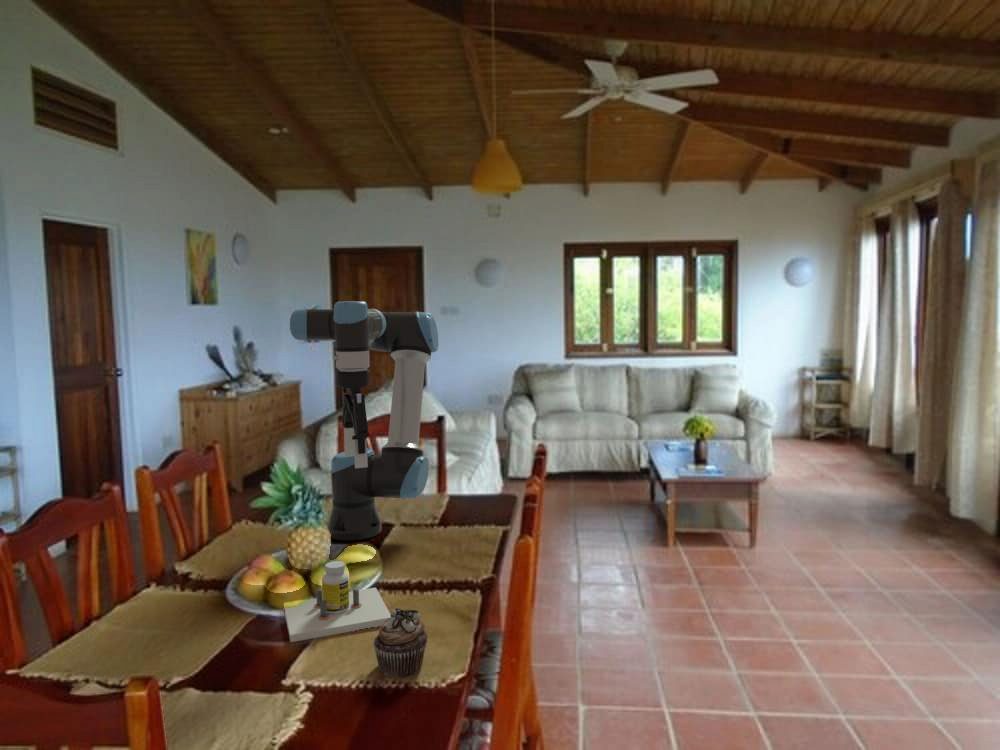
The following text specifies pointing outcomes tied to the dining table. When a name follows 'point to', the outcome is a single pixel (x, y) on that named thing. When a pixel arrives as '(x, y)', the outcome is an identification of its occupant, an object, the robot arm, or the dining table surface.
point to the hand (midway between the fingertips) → (355, 461)
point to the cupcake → (401, 644)
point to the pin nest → (336, 615)
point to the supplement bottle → (335, 588)
